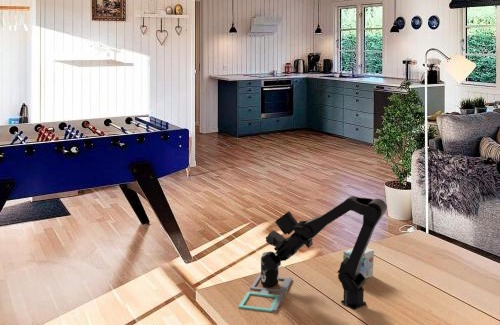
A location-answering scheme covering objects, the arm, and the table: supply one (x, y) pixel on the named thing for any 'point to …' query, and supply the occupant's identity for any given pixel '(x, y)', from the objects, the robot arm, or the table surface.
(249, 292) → the teal square frame
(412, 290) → the table surface
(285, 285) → the strip
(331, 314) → the table surface
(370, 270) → the light bulb box
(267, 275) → the beverage can
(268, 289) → the grey square frame
